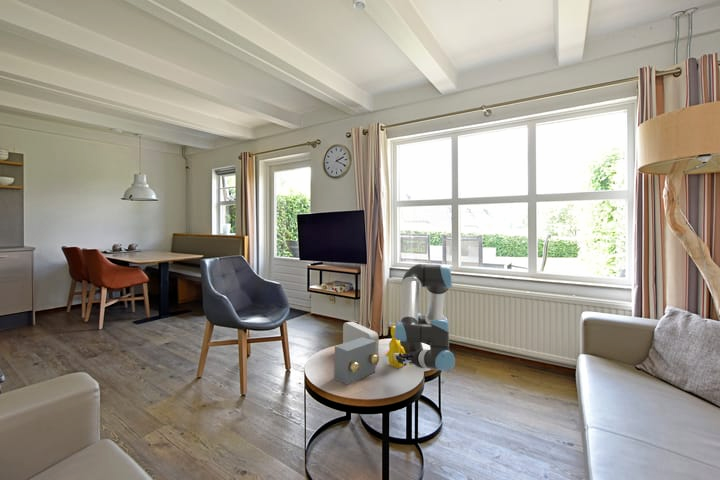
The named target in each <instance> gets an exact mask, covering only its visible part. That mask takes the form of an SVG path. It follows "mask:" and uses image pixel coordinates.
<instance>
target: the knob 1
mask: <svg viewBox="0 0 720 480" xmlns="http://www.w3.org/2000/svg"><path fill="white" fill-rule="evenodd" d="M359 369H360V365H359V364H358V363H356V362H351V363H350V364H349V370H350V371H352V372H354V373H357V372H358V371H359Z"/></svg>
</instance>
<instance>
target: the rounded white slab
mask: <svg viewBox="0 0 720 480" xmlns="http://www.w3.org/2000/svg"><path fill="white" fill-rule="evenodd" d="M362 337H364V338H367V339H370V340H373V341H376V351H375V355H377V356H379V341H380V340H379V334H378V332H377V331H375V330H372V329H370V328H368V327H366V326H364V325H361V324H359V323H356V322H355V321H348V322H344V323H343V326H342V344H343V343H346V342H349V341H352V340H355V339H358V338H362ZM378 364H379V362H378V363H377V364H376V365H375V366H377V365H378Z"/></svg>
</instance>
